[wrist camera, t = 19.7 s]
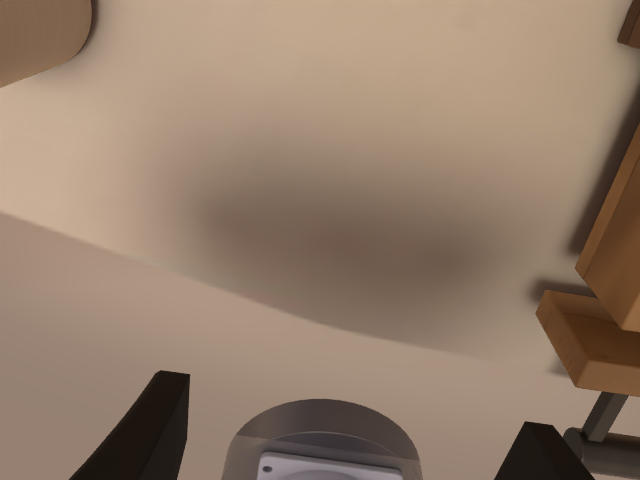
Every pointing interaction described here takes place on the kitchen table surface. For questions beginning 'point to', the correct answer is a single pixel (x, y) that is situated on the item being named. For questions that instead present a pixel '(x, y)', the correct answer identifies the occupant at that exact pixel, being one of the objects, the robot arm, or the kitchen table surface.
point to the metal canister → (40, 35)
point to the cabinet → (632, 27)
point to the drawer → (604, 325)
